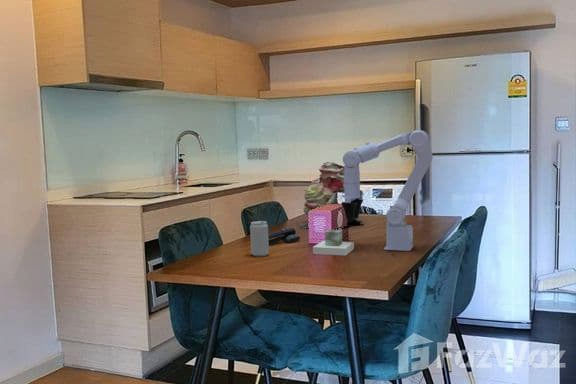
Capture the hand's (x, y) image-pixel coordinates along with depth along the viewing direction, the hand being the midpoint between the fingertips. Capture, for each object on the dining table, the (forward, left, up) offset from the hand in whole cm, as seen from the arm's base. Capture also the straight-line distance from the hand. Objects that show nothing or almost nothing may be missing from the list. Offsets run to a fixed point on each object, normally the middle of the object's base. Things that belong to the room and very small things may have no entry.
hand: (352, 219), depth 209 cm
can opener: (+31, -2, -11) cm, 33 cm away
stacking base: (+5, +9, -10) cm, 15 cm away
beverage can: (+29, +21, -11) cm, 37 cm away
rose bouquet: (+24, -46, -11) cm, 53 cm away
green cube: (+5, +9, -8) cm, 13 cm away
